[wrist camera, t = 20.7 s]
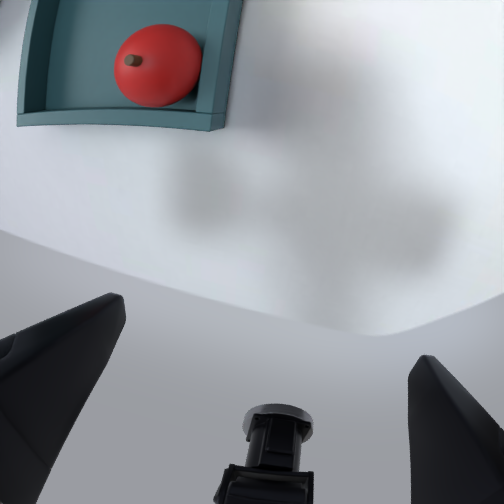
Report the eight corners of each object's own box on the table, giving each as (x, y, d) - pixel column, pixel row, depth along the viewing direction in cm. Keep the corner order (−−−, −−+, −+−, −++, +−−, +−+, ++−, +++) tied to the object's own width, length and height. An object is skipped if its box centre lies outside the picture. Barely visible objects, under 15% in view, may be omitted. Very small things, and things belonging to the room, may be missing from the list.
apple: (208, 108, 18) (171, 112, 12) (136, 104, 18) (83, 110, 13) (219, 33, 15) (185, 8, 10) (145, 34, 16) (94, 18, 10)
